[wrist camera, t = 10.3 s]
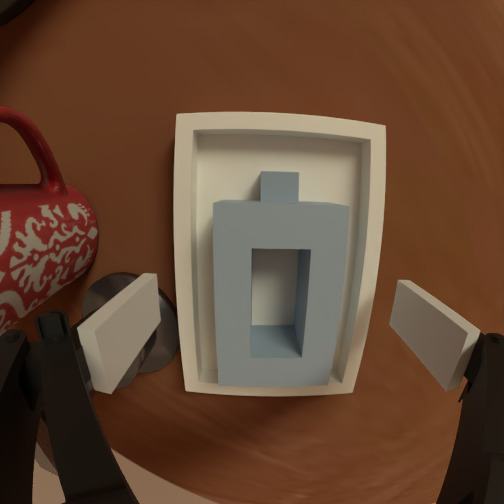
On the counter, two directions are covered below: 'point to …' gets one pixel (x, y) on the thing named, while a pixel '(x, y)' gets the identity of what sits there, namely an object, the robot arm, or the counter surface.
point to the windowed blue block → (307, 291)
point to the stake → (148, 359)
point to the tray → (274, 260)
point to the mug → (40, 231)
